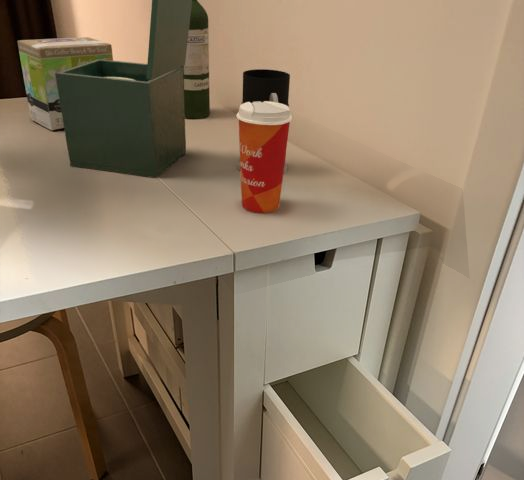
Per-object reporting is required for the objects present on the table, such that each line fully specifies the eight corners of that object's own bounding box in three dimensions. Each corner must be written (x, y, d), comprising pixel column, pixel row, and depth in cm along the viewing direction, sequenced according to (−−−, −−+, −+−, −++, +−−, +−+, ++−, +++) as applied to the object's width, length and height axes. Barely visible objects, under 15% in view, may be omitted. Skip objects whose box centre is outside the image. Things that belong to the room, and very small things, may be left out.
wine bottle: (196, 121, 119) (191, -51, 101) (166, 115, 122) (156, -53, 104) (216, 113, 125) (215, -51, 107) (188, 108, 128) (182, -53, 110)
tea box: (52, 132, 108) (37, 47, 99) (30, 120, 114) (14, 39, 105) (120, 121, 117) (112, 41, 108) (96, 110, 122) (86, 34, 113)
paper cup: (228, 198, 85) (228, 101, 76) (274, 193, 87) (280, 98, 79) (245, 218, 79) (248, 115, 71) (294, 213, 81) (302, 112, 73)
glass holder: (282, 159, 101) (288, 68, 92) (298, 188, 90) (306, 88, 81) (234, 160, 100) (235, 68, 91) (245, 189, 88) (247, 87, 79)
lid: (155, -56, 72) (162, -54, 72) (193, -55, 82) (198, -54, 82) (146, 78, 82) (151, 80, 82) (180, 63, 92) (185, 65, 92)
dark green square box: (70, 166, 93) (54, 73, 85) (108, 143, 104) (98, 59, 96) (156, 178, 91) (149, 83, 82) (186, 153, 101) (182, 67, 93)
